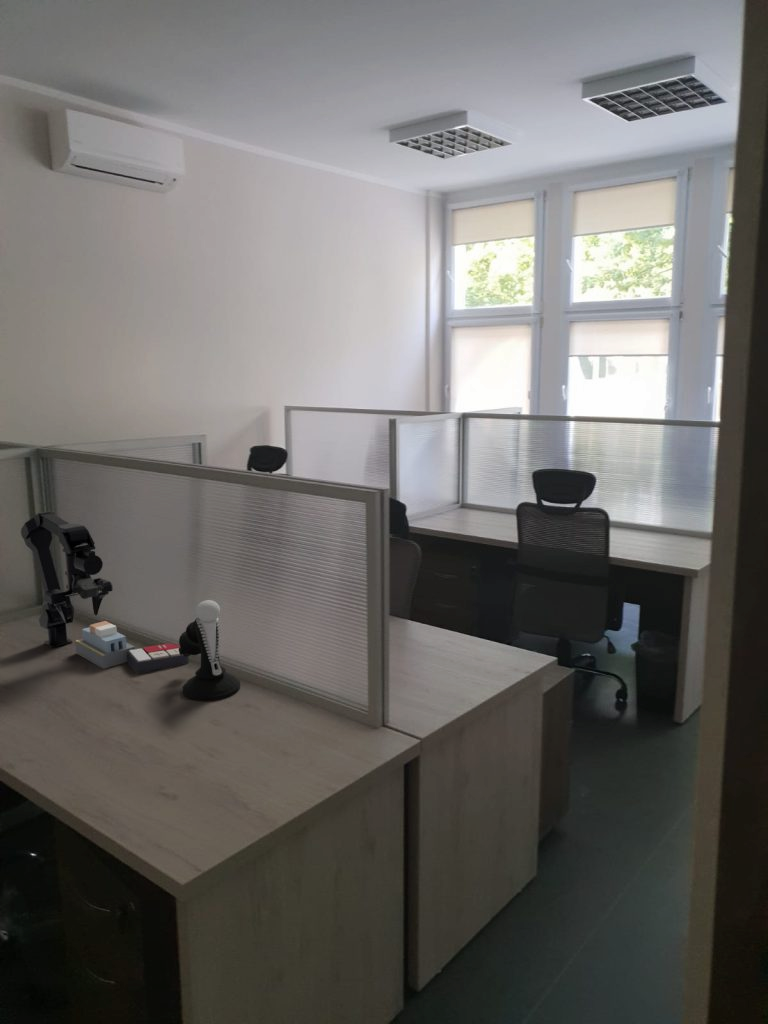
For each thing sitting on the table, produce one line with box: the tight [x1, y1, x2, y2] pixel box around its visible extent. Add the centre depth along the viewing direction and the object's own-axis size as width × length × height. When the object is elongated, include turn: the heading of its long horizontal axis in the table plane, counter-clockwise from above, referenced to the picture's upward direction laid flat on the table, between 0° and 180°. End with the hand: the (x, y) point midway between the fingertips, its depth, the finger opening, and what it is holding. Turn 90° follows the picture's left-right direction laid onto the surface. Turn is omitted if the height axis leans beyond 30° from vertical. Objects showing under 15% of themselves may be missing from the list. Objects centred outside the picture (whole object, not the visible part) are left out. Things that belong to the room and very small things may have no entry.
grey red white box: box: [127, 643, 190, 675], centre depth 230 cm, size 11×4×15 cm
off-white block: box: [95, 623, 118, 638], centre depth 232 cm, size 4×5×2 cm
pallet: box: [81, 626, 127, 653], centre depth 234 cm, size 16×6×4 cm, turn 45°
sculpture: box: [178, 599, 241, 702], centre depth 211 cm, size 15×24×25 cm, turn 38°
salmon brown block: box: [89, 620, 112, 634], centre depth 235 cm, size 4×5×2 cm
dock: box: [74, 638, 136, 670], centre depth 235 cm, size 18×10×4 cm, turn 45°
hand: (81, 618), depth 234 cm, fingers open, 9 cm apart
